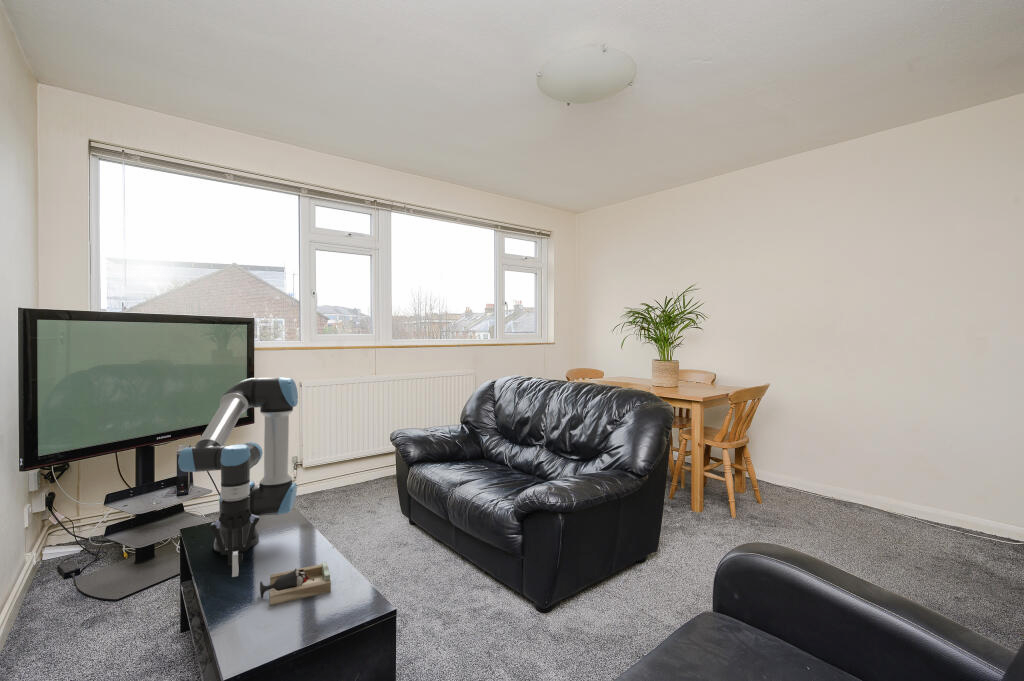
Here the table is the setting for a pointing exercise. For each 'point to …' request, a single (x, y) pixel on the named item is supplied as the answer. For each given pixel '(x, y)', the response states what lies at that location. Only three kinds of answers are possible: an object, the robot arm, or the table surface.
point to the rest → (307, 589)
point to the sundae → (286, 581)
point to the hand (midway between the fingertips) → (235, 574)
